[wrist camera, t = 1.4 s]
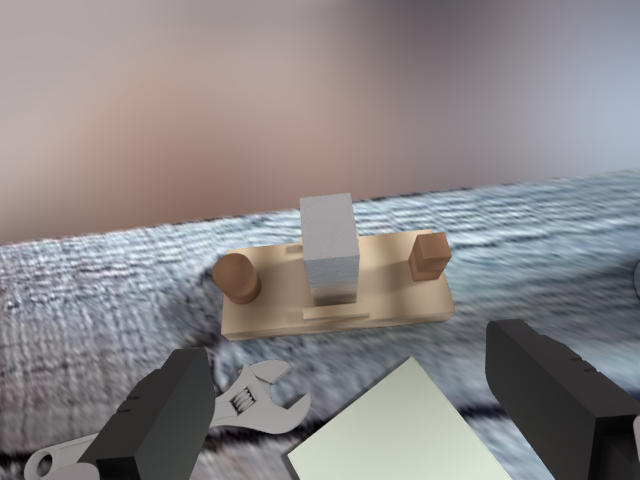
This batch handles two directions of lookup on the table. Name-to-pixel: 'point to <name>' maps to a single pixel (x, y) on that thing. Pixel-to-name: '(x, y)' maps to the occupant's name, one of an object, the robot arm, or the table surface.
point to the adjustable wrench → (254, 414)
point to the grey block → (330, 248)
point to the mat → (397, 437)
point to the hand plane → (368, 312)
